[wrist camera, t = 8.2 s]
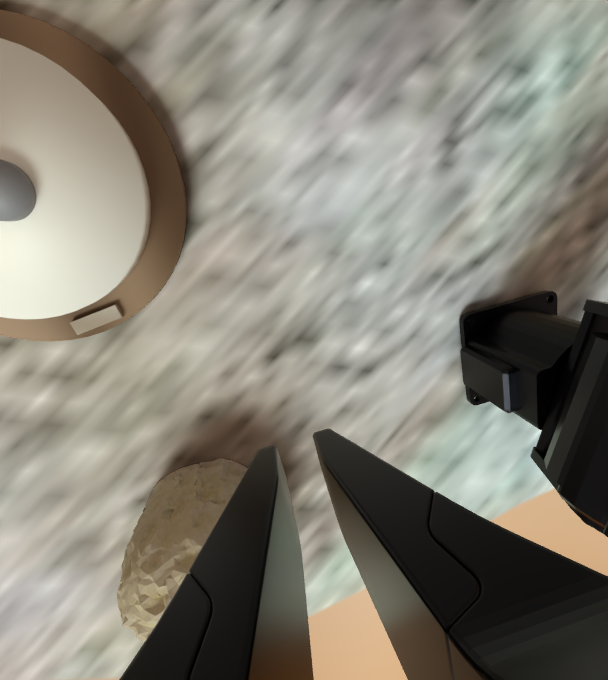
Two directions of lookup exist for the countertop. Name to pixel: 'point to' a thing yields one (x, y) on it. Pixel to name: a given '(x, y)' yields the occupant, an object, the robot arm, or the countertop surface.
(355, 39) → the countertop surface
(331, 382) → the countertop surface
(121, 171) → the dial
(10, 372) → the countertop surface
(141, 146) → the base
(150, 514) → the sponge
